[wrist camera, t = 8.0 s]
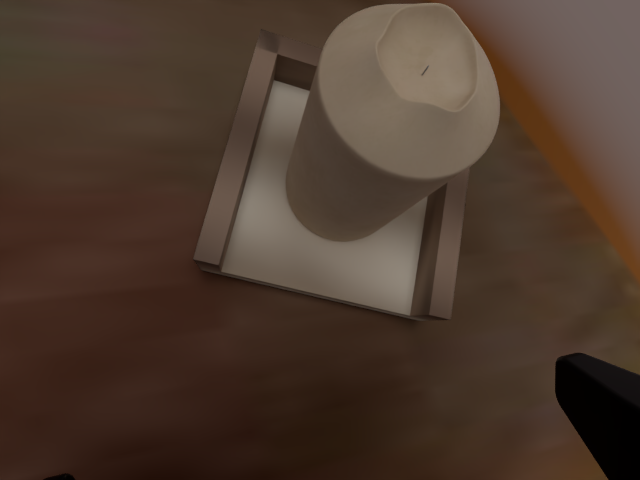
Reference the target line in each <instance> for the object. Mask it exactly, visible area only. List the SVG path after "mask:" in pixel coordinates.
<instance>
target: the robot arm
mask: <svg viewBox="0 0 640 480" xmlns="http://www.w3.org/2000/svg"><path fill="white" fill-rule="evenodd" d="M555 393H556V398H557V400H558V402H559V405H560V406H561V408H562V409H563V411H564V412H565V414H566V415H567V417H568V419H569V420H570V422H571V423H572V425H573V426H574V428H575V429H576V431H577V432H578V434H579V435H580V437H581V438H582V440H583V442H584V443H585V445H586V446H587V448H588V449H589V451H590V452H591V454H592V455H593V457H594V458H595V460H596V461H597V463H598V464H599V466H600V468H601V469H602V471H603V472H604V474H605V475H606V477H607V478H608V479H609V480H640V375H638V374H636V373H633V372H630V371H628V370H625V369H623V368H620V367H617V366H615V365H612V364H610V363H607V362H605V361H602V360H599V359H597V358H594V357H592V356H589V355H586V354H583V353H574V354H569V355H565V356H561V357H559V358H558V359H557V361H556V366H555ZM44 480H75V478H74V477H73V476H72V475H70V474H66V473H65V474H61V475H56V476H52V477H48V478H46V479H44Z"/></svg>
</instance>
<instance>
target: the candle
mask: <svg viewBox="0 0 640 480" xmlns="http://www.w3.org/2000/svg"><path fill="white" fill-rule="evenodd" d="M499 115H500V99H499V92H498V87H497V83H496V79H495V76H494V72H493V70H492V68H491V65H490V63H489V61H488V58H487V57H486V55H485V53H484V51H483V50H482V48H481V46H480V45H479V43H478V42H477V41H476V39H475V38H474V36H473V35H472V33H471V32H470V31H469V29H468V28H467V27H466V25H465V24H464V23H463V22H462V20H461V19H460V18H459V16H458V15H457V14H456V13H455V11H454V10H453V9H451V8H450V7H448V6H447V5H444V4H440V3H423V4H386V5H378V6H373V7H370V8H366V9H363V10H361V11H359V12H356V13H354V14H353V15H351V16H350V17H348V18H346V19H345V20H344V21H343V22H342V23H340V24H339V25H338V26H337V27H336V28H335V30H334V31H333V32H332V33H331V35H330V36H329V38H328V39H327V41H326V43H325V45H324V47H323V50H322V52H321V55H320V58H319V62H318V65H317V69H316V72H315V75H314V79H313V82H312V86H311V89H310V92H309V96H308V99H307V103H306V106H305V109H304V113H303V116H302V120H301V123H300V126H299V130H298V133H297V137H296V140H295V144H294V147H293V150H292V154H291V157H290V161H289V165H288V169H287V173H286V192H287V197H288V200H289V204H290V206H291V208H292V210H293V212H294V214H295V215H296V217H297V218H298V219H299V220H300V222H301V223H302V224H303V225H304V226H305V227H307V228H308V229H309V230H311V231H312V232H314V233H315V234H317V235H319V236H321V237H324V238H326V239H330V240H335V241H352V240H358V239H361V238H364V237H366V236H369V235H371V234H372V233H374V232H376V231H377V230H379V229H380V228H382V227H383V226H385V225H386V224H388V223H389V222H391V221H392V220H394V219H395V218H396V217H398V216H399V215H401V214H402V213H404V212H405V211H407V210H408V209H409V208H411V207H412V206H414V205H415V204H417V203H418V202H420V201H421V200H423V199H424V198H425V197H427V196H428V195H430V194H431V193H433V192H434V191H436V190H437V189H438V188H440V187H441V186H443V185H444V184H446V183H447V182H449V181H450V180H451V179H453V178H454V177H456V176H457V175H459V174H460V173H462V172H463V171H464V170H466V169H467V168H469V167H470V166H472V165H473V164H474V163H475V162H476V161H477V160H479V159H480V158H481V156H482V155H483V154H484V153H485V152H486V151H487V149H488V147H489V146H490V144H491V142H492V140H493V138H494V136H495V133H496V130H497V127H498V123H499Z"/></svg>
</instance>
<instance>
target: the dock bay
mask: <svg viewBox="0 0 640 480" xmlns="http://www.w3.org/2000/svg"><path fill="white" fill-rule="evenodd" d="M322 50H323V49H321V48H318V47H315V46H312V45H309V44H306V43H303V42H300V41H297V40H293V39H290V38H287V37H284V36H281V35H278V34H275V33H272V32H269V31H266V30H262V29H261V31H260V35H259V38H258V41H257V45H256V48H255V51H254V55H253V58H252V62H251V65H250V68H249V72H248V75H247V78H246V82H245V85H244V89H243V92H242V95H241V99H240V102H239V105H238V109H237V112H236V116H235V119H234V122H233V126H232V129H231V132H230V136H229V139H228V143H227V146H226V149H225V153H224V156H223V160H222V163H221V166H220V170H219V173H218V176H217V180H216V183H215V187H214V190H213V193H212V197H211V200H210V203H209V207H208V210H207V214H206V217H205V220H204V224H203V227H202V230H201V234H200V237H199V241H198V244H197V247H196V251H195V254H194V257H193V260H194V261H195V262H196V264H197V265H198V266H199V268H200V269H201V270H203V271H207V272H212V273H216V274H220V275H225V276H229V277H233V278H238V279H242V280H246V281H250V282H255V283H259V284H263V285H268V286H272V287H276V288H281V289H285V290H289V291H293V292H298V293H302V294H306V295H311V296H315V297H319V298H324V299H328V300H332V301H336V302H341V303H345V304H349V305H354V306H358V307H362V308H367V309H371V310H375V311H380V312H384V313H388V314H392V315H397V316H401V317H405V318H410V319H414V320H418V321H422V320H451V313H452V305H453V297H454V289H455V281H456V273H457V265H458V257H459V249H460V241H461V233H462V225H463V217H464V209H465V201H466V193H467V185H468V177H469V169H470V167H469V168H467V169H466V170H464V171H463V172H462V173H460V174H459V175H457V176H456V177H454V178H453V179H451V180H450V181H449V182H447V183H446V184H444V185H443V186H441V187H440V188H438V189H437V190H436V191H434V192H433V193H431V194H430V195H428V196H427V197H425V198H424V199H423V200H421V201H420V202H418V203H417V204H415V205H414V206H412V207H411V208H409V209H408V210H407V211H405V212H404V213H402V214H401V215H399V216H398V217H396V218H395V219H394V220H392V221H391V222H389V223H388V224H386V225H385V226H383V227H382V228H380V229H379V230H377V231H376V232H374V233H372V234H371V235H369V236H366V237H364V238H361V239H358V240H352V241H335V240H330V239H326V238H324V237H321V236H319V235H317V234H315V233H314V232H312V231H311V230H309V229H308V228H307V227H305V226H304V225H303V224H302V223H301V222H300V220H299V219H298V218H297V217H296V215H295V214H294V212H293V210H292V208H291V206H290V204H289V200H288V197H287V192H286V173H287V169H288V165H289V161H290V157H291V154H292V150H293V147H294V144H295V140H296V137H297V133H298V130H299V126H300V123H301V120H302V116H303V113H304V109H305V106H306V103H307V99H308V96H309V92H310V89H311V86H312V82H313V79H314V75H315V72H316V69H317V65H318V62H319V58H320V55H321V52H322Z"/></svg>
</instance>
